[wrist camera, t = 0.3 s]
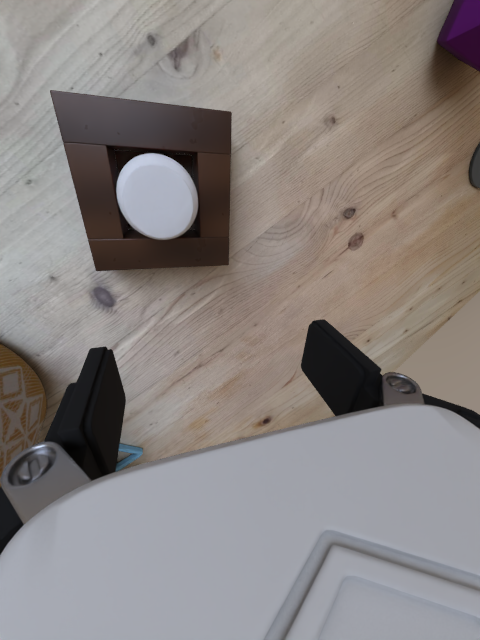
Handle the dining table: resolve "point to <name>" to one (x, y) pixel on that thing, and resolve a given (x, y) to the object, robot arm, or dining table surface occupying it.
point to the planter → (18, 406)
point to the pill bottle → (157, 196)
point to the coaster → (475, 168)
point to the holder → (155, 137)
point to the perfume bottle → (463, 32)
